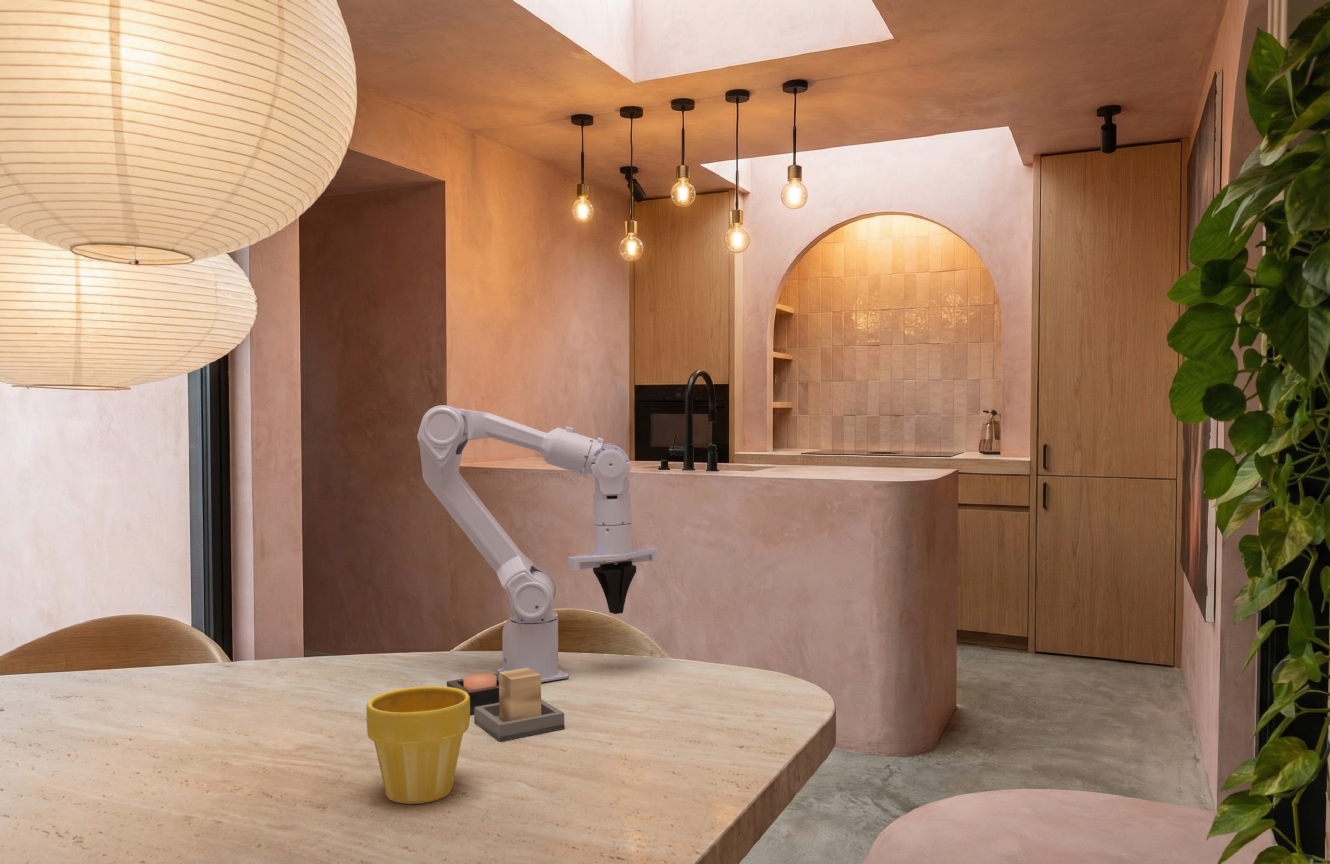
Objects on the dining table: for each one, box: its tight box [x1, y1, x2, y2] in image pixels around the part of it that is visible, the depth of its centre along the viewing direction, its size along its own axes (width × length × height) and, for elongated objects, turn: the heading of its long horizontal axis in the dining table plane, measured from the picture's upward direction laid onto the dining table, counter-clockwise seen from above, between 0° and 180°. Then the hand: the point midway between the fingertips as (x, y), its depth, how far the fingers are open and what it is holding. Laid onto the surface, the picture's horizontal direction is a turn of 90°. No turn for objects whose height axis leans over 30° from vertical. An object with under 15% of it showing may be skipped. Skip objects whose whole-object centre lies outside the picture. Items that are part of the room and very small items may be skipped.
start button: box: [463, 672, 497, 690], centre depth 125 cm, size 4×4×3 cm
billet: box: [498, 668, 542, 722], centre depth 117 cm, size 4×4×6 cm
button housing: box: [446, 673, 499, 716], centre depth 125 cm, size 7×7×3 cm
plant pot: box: [366, 685, 471, 805], centre depth 96 cm, size 10×10×10 cm
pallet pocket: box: [473, 698, 565, 742], centre depth 117 cm, size 9×9×2 cm
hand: (616, 612), depth 140 cm, fingers closed
